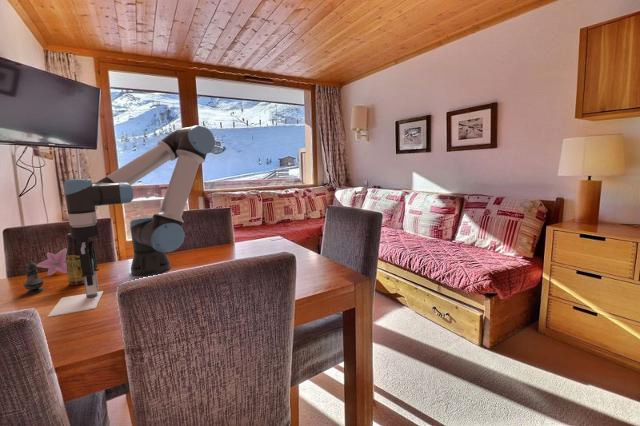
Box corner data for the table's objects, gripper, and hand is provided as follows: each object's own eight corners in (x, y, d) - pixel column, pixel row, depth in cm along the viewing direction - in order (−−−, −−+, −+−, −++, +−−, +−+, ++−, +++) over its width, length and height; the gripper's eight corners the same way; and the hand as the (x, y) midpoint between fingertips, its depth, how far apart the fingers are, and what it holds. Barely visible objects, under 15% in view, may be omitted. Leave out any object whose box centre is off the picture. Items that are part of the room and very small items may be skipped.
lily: (34, 278, 136) (30, 262, 131) (53, 260, 146) (51, 244, 141) (64, 285, 138) (62, 268, 133) (81, 266, 148) (80, 251, 143)
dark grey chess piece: (21, 295, 114) (16, 263, 112) (27, 290, 119) (22, 259, 118) (43, 292, 117) (37, 260, 115) (47, 287, 122) (42, 256, 120)
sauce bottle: (65, 286, 122) (57, 235, 119) (76, 280, 128) (68, 232, 125) (83, 285, 123) (75, 234, 120) (93, 279, 129) (86, 231, 126)
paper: (103, 291, 116) (103, 290, 116) (95, 308, 101) (95, 307, 101) (62, 298, 110) (61, 297, 110) (47, 317, 96) (47, 316, 96)
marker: (96, 293, 113) (91, 257, 111) (99, 296, 111) (94, 259, 109) (84, 296, 111) (79, 260, 109) (87, 299, 108) (82, 262, 106)
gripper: (75, 222, 113) (84, 286, 116) (63, 230, 99) (74, 302, 102) (101, 220, 116) (109, 282, 119) (92, 227, 102) (102, 297, 105)
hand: (93, 291), depth 111 cm, fingers closed on marker, 3 cm apart
